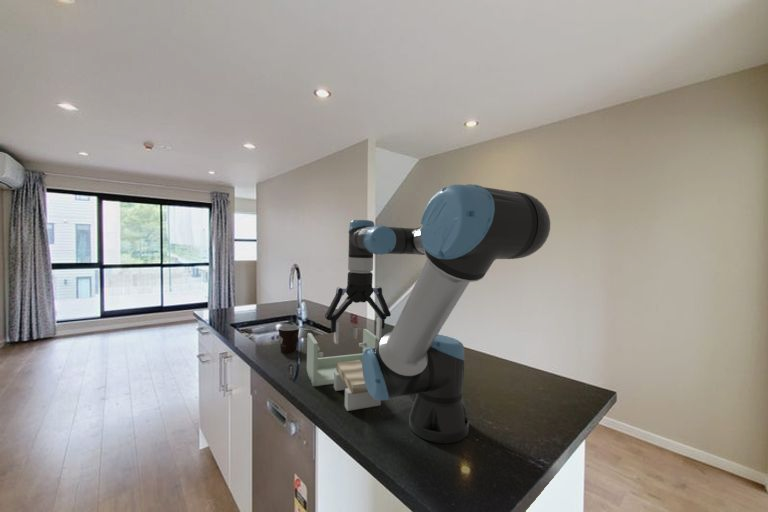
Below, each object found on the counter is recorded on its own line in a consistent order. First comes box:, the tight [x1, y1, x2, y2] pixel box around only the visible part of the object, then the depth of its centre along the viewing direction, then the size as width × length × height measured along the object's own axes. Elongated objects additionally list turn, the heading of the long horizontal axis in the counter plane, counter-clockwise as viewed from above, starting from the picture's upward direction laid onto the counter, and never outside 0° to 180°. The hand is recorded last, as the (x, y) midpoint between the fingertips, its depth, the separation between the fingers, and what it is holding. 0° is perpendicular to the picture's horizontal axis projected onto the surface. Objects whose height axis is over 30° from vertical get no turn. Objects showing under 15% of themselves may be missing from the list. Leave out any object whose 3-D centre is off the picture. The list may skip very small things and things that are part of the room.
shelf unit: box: [306, 328, 380, 387], centre depth 114 cm, size 13×22×14 cm, turn 113°
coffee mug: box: [278, 324, 300, 354], centre depth 136 cm, size 12×9×10 cm
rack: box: [333, 371, 382, 412], centre depth 98 cm, size 16×10×5 cm, turn 23°
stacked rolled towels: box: [336, 360, 368, 394], centre depth 98 cm, size 18×8×2 cm, turn 23°
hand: (357, 340), depth 98 cm, fingers open, 13 cm apart
